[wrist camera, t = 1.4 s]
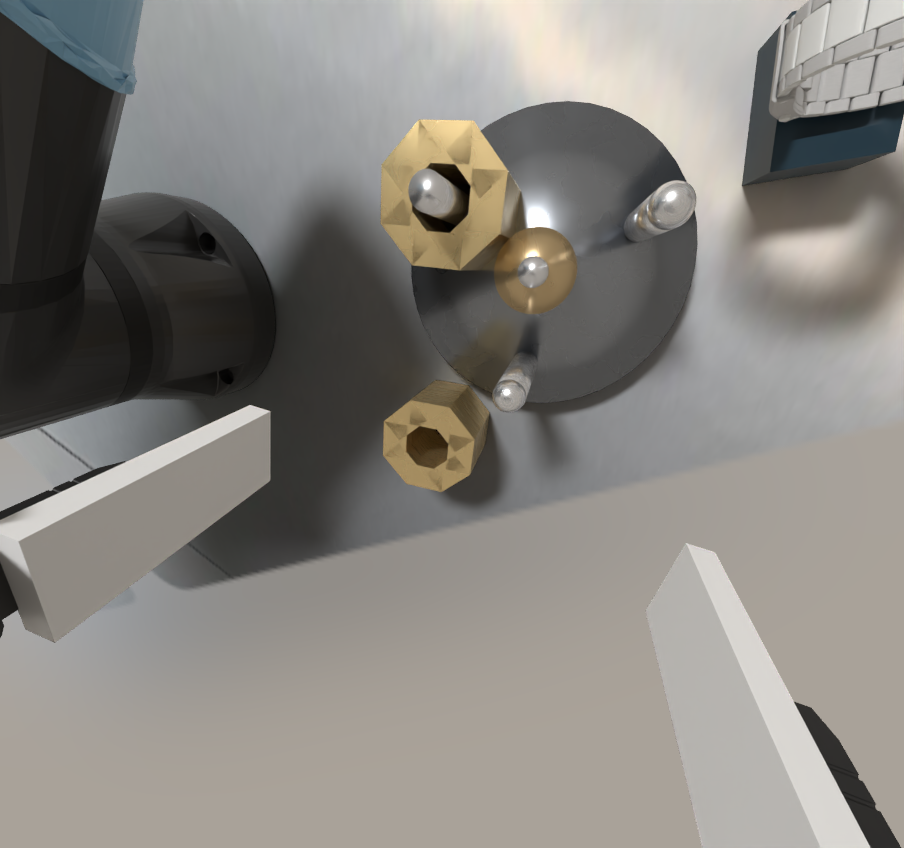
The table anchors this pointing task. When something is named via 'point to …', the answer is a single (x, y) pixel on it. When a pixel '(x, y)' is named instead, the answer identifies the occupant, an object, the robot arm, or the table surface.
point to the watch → (827, 90)
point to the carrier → (564, 257)
